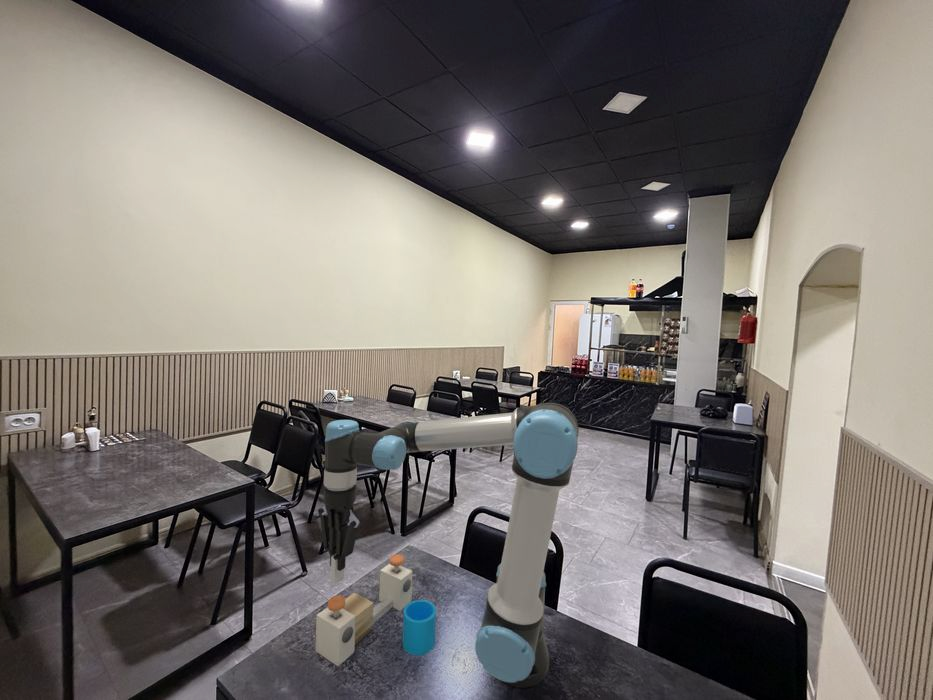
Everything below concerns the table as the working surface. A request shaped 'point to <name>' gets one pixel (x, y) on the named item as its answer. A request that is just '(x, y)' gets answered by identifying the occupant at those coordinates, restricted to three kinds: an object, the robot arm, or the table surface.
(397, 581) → the cabinet
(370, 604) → the block
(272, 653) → the table surface
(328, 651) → the cabinet
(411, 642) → the mug
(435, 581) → the table surface
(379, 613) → the rail
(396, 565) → the plunger
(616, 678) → the table surface
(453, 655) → the table surface
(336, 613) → the plunger
